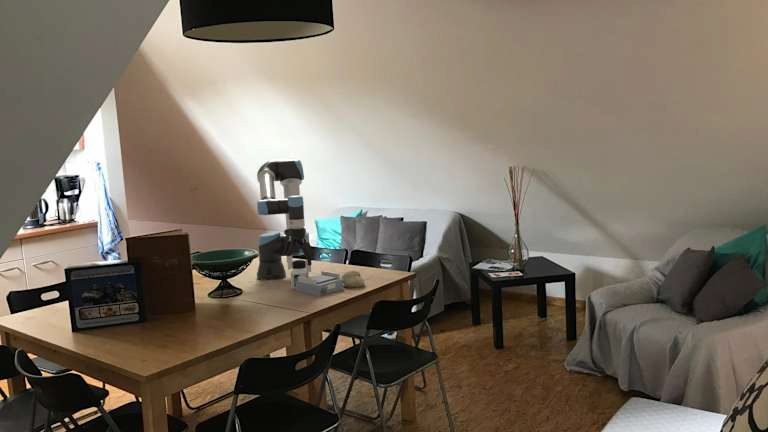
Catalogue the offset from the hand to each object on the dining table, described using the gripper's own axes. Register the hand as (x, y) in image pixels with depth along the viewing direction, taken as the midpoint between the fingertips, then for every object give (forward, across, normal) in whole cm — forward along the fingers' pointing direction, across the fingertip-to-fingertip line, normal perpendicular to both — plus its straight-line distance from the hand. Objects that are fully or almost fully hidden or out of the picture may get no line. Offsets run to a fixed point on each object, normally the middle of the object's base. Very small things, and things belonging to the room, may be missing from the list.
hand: (299, 270), depth 330 cm
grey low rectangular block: (+8, +14, 0) cm, 16 cm away
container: (+8, 0, 0) cm, 8 cm away
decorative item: (+8, +21, +15) cm, 27 cm away
